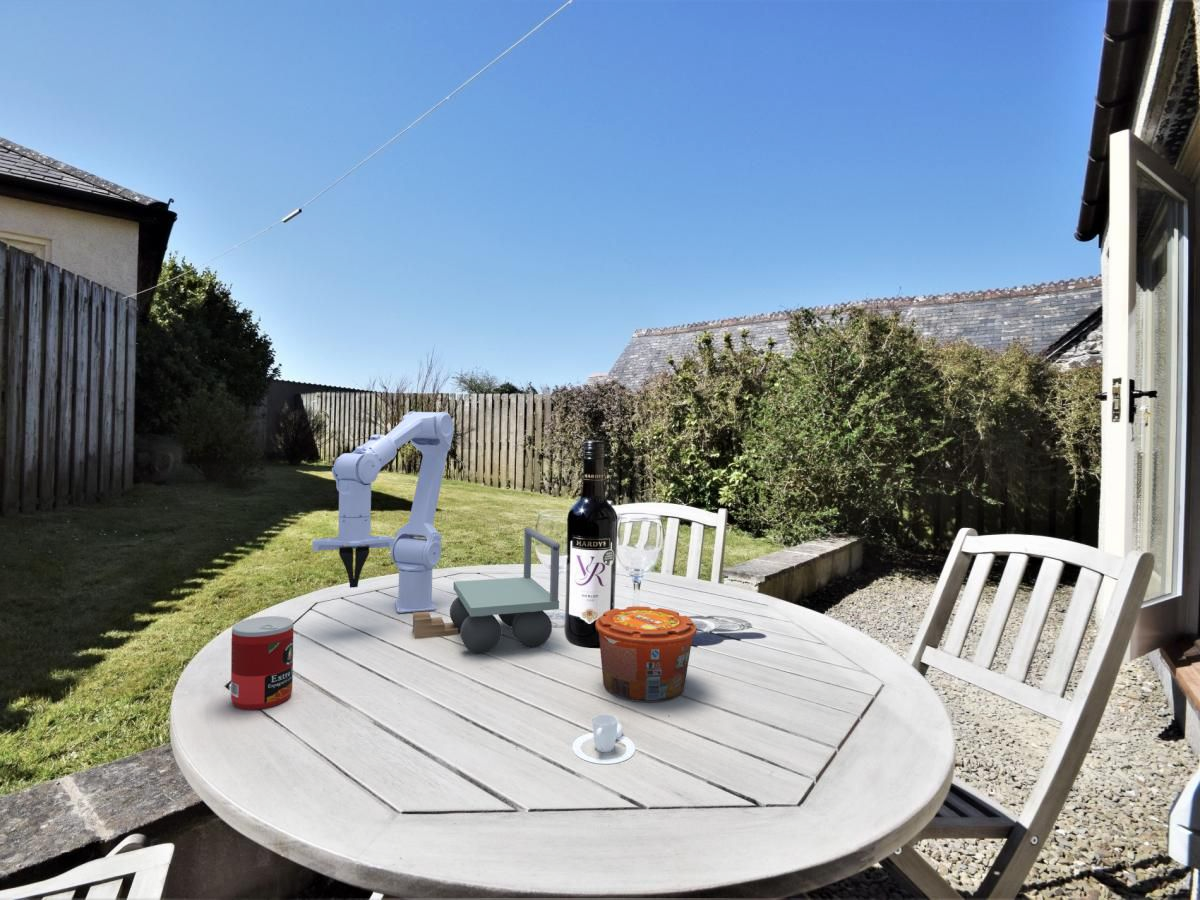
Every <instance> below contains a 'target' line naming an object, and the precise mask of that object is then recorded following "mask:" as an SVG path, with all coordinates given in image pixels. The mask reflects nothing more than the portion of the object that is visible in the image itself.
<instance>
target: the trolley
mask: <svg viewBox="0 0 1200 900" xmlns="http://www.w3.org/2000/svg"><path fill="white" fill-rule="evenodd" d="M523 532H524V541H523V542H524V545H523V546H524V549H523V554H524V555H523V577H508V578H507V577H506V578H493V579H492V578H491V579H490V578H489V579H475V580H460V581H459V580H458V581H453V591H454V592H455V594H456V595H457V597H456V598H455V599H454V600H453V601H452V604H451V605H450V608H449V618H450V619H451V621H452V622H453V624H454V625H455V626H456V627H457V629H458V631H459V633H460V634H459V635H460V640H461V641H462V643H463V645H464V647H465V649H467V650H468V651H469V652H471V653H473V654H477V655H478V654H487V653H489V652H491V651H492V650H493V649H495V647H497V645H498V644H499V643H500V641H501V638H502V626H501V624H500V621H499V620H498V619H497V618H496V616H495V615H497V616H498V617H499V619H500V620H501V621H502V622H503V624H505V625H506V626H507V627H511V630H512V635H513V637H514V638H515V639H516V640H517V642H518V643H519V645H521V646H522V647H524V648H527V649H537V648H539V647H541V646H542V645H543V646H544V644H546V642H547V641H548V640H549V638H550V637H551V635H552V631H553V624H552V621H551V618H550V617H549V615H548V614H547V613H546V612H545V611H554V610H559V609H560V601H559V581H560V580H559V579H560V578H559V577H560V576H559V575H560V572H559V571H560V570H559V569H560V548H561V546H560V544H559V542H557V541H555V540H553V539H551V538H549V537H548V536H545V535H543V534H542V533H541V532H538V531H537V530H534V529H533V528H531V527H529V526H526V527H525V528H524V531H523ZM532 538H533V539H534V540H536V541H538V542H540V543H542V545H543V544H544V545H545V546H547V547H548V548H550V578H549V579H550V580H549V581H550V582H549V591H547V590H546V589H545V588H544V587H543V586H542V585H540V584H539V583H538V582H537V581H536V580H534V578H532V577H531V575H532V573H531V571H532V543H533V542H532V541H533V540H532Z"/></svg>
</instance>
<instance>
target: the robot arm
mask: <svg viewBox="0 0 1200 900" xmlns="http://www.w3.org/2000/svg"><path fill="white" fill-rule="evenodd" d="M401 418H402V419H401V421H400V423H398V424H397V425H396V426H395V427H393V429H391V430H390V431H389V432H388V433H387V434H372V435H371V436H370V437H369V438H370V439H369V440H368V441H366V442H365V443H364V444H362V445H358V446H357V447H356V448H355V450H353V451H352V452H351V453H349V452H347V453H346V452H345V453H342V454H341V455H339V456H338V457H337V458H336V459H335V461H334V464H333V467H332V468H331V473H332V476H333V479H334V480H335V482H336V486H335V487H336V489H337V492H338V532H337V533H338V537H329V538H327V537H326V538H315V539H312V552H319V551H329V550H330V551H334V550H338V554H339V557H340V559H341V561H342V563H343V565H344V568H345V570H346V573H347V574H346V575H347V577H348V581H349V588H358V586H359V582H360V581H359V580H360V576H361V573H362V570H363V567H364V565H365V562H366V560H367V559H368V556H369V554H370V549H380V548H389V549H390V558H391V560H392V562H393V563H394V564H395V568H396V569H398V593H397V594H398V598H397V599H395V600H394V604H395V608H396V612H397V613H398V614H400V613H402V614H404V613H416V612H429V611H435V610H436V607H435V604H434V601H433V569H434V568H436V567H437V565H438V564H439V562H440V561H441V556H442V534H441V533H440V532H439V530H437V529H436V528H435V527H434V521H435V518H436V517H435V516H436V511H437V506H438V503H439V502H438V501H439V496H440V491H441V486H442V481H443V477H444V472H445V467H446V461H447V457H448V452H449V451H451V446H452V441H453V436H454V433H455V432H454V431H455V425H454V422H453V419H452V417H451V415H450V413H448V412H447V411H441V412H437V411H436V412H434V411H415V410H413V411H409V412H407V413H406V414H405V415H403V416H402V417H401ZM408 442H410V443H411V444H412V445H413V446H414V448H415V449H416V450H417V451H419V452H420V453H421V455H422V459H421V463H420V468H419V474H418V477H417V482H416V485H415V486H416V487H415V492H414V495H413V501H412V505H411V510H410V514H409V520H408V522H407V523H406V524H404V525H402V527H400V528H399V529H398V530H397V533H396V537H395V536H382V535H381V536H374V535H373V536H371V523H372V521H371V520H372V519H371V518H372V515H371V514H372V509H371V508H372V507H371V506H372V483H374V482H375V481H376V480H377V478H378V475H379V472H380V471H381V470H382V468H383V467H384V466H385V465H387V464H388V463H389V462H390V461H392V460H393V459H395V457H396V456H397V453H398V451H397V449H398V448H401V446H403V445H405V444H406V443H408ZM354 549H355V551H354ZM354 553H355V554H354ZM354 555H355V557H354Z"/></svg>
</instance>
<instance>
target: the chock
mask: <svg viewBox="0 0 1200 900" xmlns="http://www.w3.org/2000/svg"><path fill="white" fill-rule="evenodd" d="M458 632H459V629H458V628H457V627H456V626H455V625H454V624H453V622H444V620H443V617H442V616H438V617H432V616H431V614H430V612H429V611H417V612H412V634H413V637H414V639H415V640H416V639H417V640H418V639H427V638H438V637H448V636H449V637H450V636H458V634H459V633H458Z"/></svg>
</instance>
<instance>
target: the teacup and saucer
mask: <svg viewBox="0 0 1200 900" xmlns="http://www.w3.org/2000/svg"><path fill="white" fill-rule="evenodd" d="M618 719H619V718H617V717H616V716H615V715H614V714H608V713H601V714H600V713H599V714H597V715H594V717H593V719H592V732H589V733H588V732H587V733H586V734H583V735H581V736H578V737H577V738H576V739H575V740H574V741H573V743H572V752H573V753H574V754H575V755H576V756H577V757H578V758H579V759H580V760H583V761H586V762H588V763H592V764H597V765H614V764H615V765H616V764H620V763H622V762H625V761H628V760H629V759H631V758H632V757H633V756H634V754H635V753H636V745H635V744H634V742H633V741H632V740H631V739H630V738H629V737H627V736H625V735H623V732H624V728H623V725H622V723H621V722H620V721H618ZM591 739H593V743H594V746H595V748H596V750H597V751H598V752H599V753H600V752H601V753H609V752H612V751H613V750H614V748H615V745H616V741H617V740H618V741H620V742H621V743H623V744H624V745H625V747H626V751H625V752H624V753H623V755H621V756H619V757H615V758H611V759H598V758H595V757H591V756H589V755H587V754H586V753H584V752H583V750H582V745H583V744H584V742H586V741H588V740H591Z"/></svg>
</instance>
